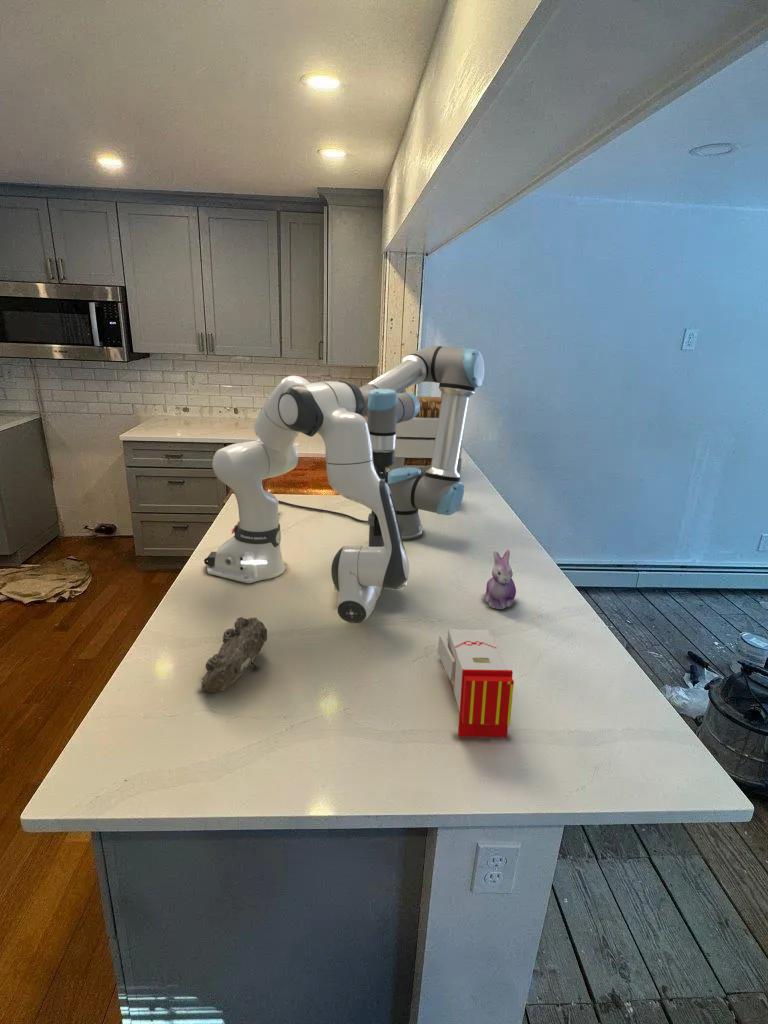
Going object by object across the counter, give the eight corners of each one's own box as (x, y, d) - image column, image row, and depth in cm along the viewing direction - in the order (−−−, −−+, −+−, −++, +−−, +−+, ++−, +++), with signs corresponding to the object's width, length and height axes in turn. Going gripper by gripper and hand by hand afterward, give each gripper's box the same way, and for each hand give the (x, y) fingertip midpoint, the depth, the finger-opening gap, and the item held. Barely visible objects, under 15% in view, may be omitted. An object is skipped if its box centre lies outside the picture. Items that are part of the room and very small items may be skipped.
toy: (488, 613, 130) (523, 677, 101) (484, 667, 133) (517, 744, 104) (435, 612, 130) (455, 676, 101) (432, 666, 133) (451, 743, 103)
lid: (391, 523, 157) (391, 515, 156) (377, 528, 153) (378, 520, 152) (377, 518, 160) (377, 510, 159) (364, 523, 156) (364, 514, 155)
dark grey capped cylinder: (386, 584, 163) (389, 518, 156) (376, 589, 160) (378, 522, 153) (374, 579, 166) (376, 514, 159) (364, 584, 162) (366, 518, 156)
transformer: (382, 463, 289) (386, 382, 275) (445, 464, 293) (451, 384, 279) (390, 482, 257) (394, 392, 243) (460, 483, 261) (468, 394, 247)
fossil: (219, 620, 133) (266, 590, 128) (247, 647, 136) (294, 619, 131) (181, 686, 113) (234, 654, 108) (214, 717, 116) (267, 687, 111)
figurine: (497, 613, 149) (504, 562, 144) (474, 596, 158) (480, 547, 153) (525, 606, 154) (532, 556, 149) (501, 590, 162) (508, 542, 157)
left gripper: (405, 577, 146) (413, 556, 159) (329, 568, 149) (342, 547, 162) (404, 599, 148) (411, 576, 161) (328, 589, 151) (342, 567, 164)
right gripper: (362, 441, 157) (360, 519, 165) (370, 457, 140) (367, 544, 148) (389, 441, 158) (386, 519, 166) (400, 458, 141) (395, 543, 149)
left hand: (376, 562), depth 161 cm, fingers closed on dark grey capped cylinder, 4 cm apart
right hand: (377, 531), depth 157 cm, fingers closed on lid, 5 cm apart
